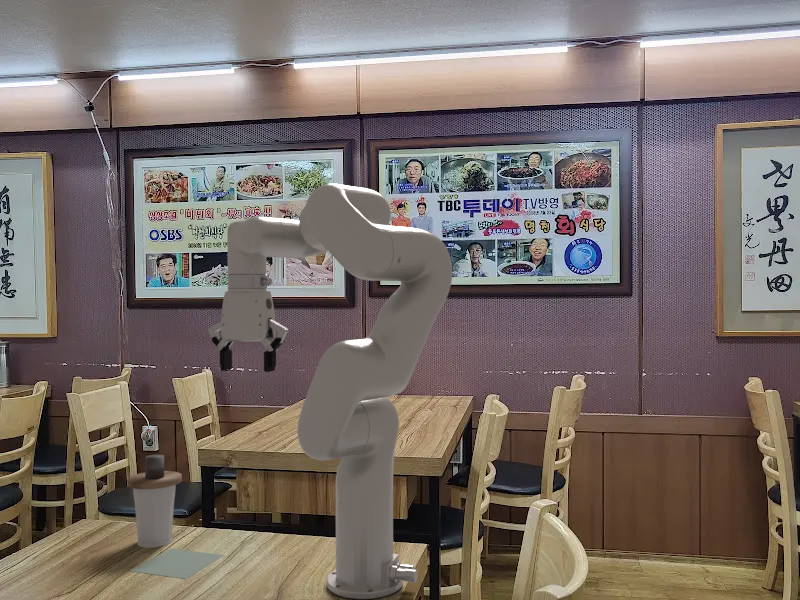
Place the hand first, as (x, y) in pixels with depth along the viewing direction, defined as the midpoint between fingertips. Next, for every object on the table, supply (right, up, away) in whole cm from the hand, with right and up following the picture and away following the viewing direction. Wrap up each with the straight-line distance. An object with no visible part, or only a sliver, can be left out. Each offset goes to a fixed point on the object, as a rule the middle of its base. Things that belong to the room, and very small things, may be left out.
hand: (247, 370), depth 140 cm
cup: (-18, -34, -3) cm, 38 cm away
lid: (-18, -21, -3) cm, 28 cm away
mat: (-10, -33, -14) cm, 37 cm away
